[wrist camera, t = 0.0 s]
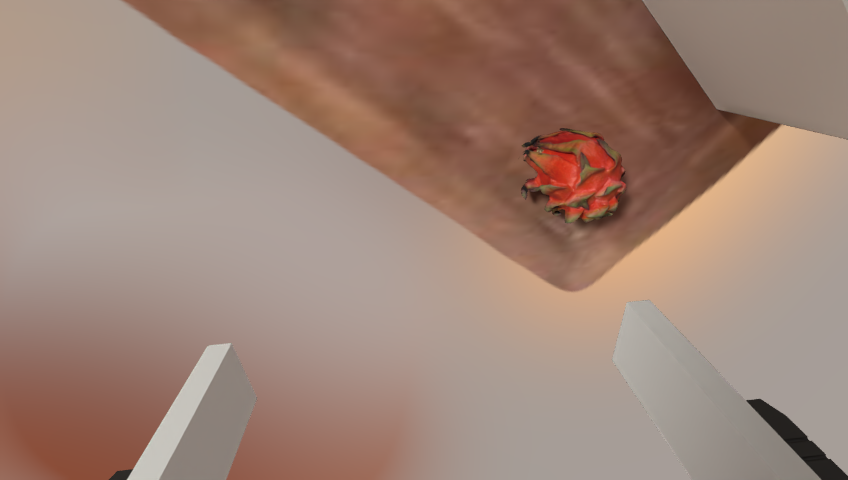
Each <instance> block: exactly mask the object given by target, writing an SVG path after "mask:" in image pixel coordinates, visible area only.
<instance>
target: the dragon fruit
mask: <svg viewBox="0 0 848 480" xmlns="http://www.w3.org/2000/svg"><path fill="white" fill-rule="evenodd" d="M560 130H562V131H560V132H555V133H552V134H548V135H540V136H537V137H536V138H534V139H533V140H531V142H527V143H525V144H523V145H522V147H527V148H526V150H525V151H524V152H525V153H524V154H525V156H524V161H526V162H527V163H528V164H529V165H530V166H531V167H533V168H534V169H535V170H536V171H537V173H538V175H537V177H536V178H532V179H527V180H526V181H527V182H526V183H525V184H524V185H523V187H522V189H521V194H522V196H523V197H524V198H525V199H526V197H527V192H528V190H530V191H531V192H536V191H539V190H540V191H541V192H542V193H543V194H545V195H549V198H550V199H549V201H548V202H547V204H546V206H545V211H546V212H550V211H552V214H553V215H556V216H558V215H561V214H562V213H560V212H559V211H558V210H561V209H565V223H572V222H575V221H577V220H578V219H579V218H580V217H581V218H582V220H583V221H584V222H586V223H587V222H590V221H592V220H594V219H600V218H603V217H605V216H610V215H613V213H611V212H609V211H614V212H615V211H616V209H617V207H618V204H619V203H618V202H619V200H620V198H619V197H620V196H621V195H622V194H623V193H624V192H625V191H626V184H625V183H624V182H622V181H621V178H622V177H623V176H624V174H625V169H624V168H623V167H622V166H621V162H622V157H621V155H620V154H619V153H618V152H616V151H614V150H612V149H611V148H610V147H609V146H608V144H607V143H606V142H605V141H604V138H603V136H602V135H601V134H599V133H594V132H593V133H590V132H583V131H578V130H577V131H576V130H572V129H566V128H561V129H560ZM533 144H534V145H533ZM524 154H523V155H524Z"/></svg>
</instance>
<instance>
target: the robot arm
mask: <svg viewBox="0 0 848 480" xmlns="http://www.w3.org/2000/svg"><path fill="white" fill-rule="evenodd" d="M612 361H613V362H614V364H615V365H616V367H617V368H618V370H619V371H620V373H621V374H622V376H623V377H624V379H625V380H626V382H627V383H628V385H629V386H630V388H631V390H632V391H633V393H634V394H635V396H636V397H637V398H638V400H639V401H640V403H641V404H642V406H643V408H644V409H645V411H646V412H647V414H648V415H649V416H650V418H651V420H652V421H653V423H654V424H655V426H656V427H657V429H658V430H659V432H660V433H661V435H662V436H663V438H664V439H665V441H666V442H667V444H668V445H669V447H670V448H671V450H672V451H673V453H674V454H675V456H676V457H677V459H678V460H679V462H680V463H681V465H682V466H683V468H684V469H685V471H686V472H687V474H688V475H689V477H690V478H691V480H848V476H847V475H846V474H845V473H844V472H843V471H842V470H841V469H840V468H839V467H838V466H837V465H836V464H835V463H834V462H833V461H832V460H831V459H828V458H827V457H826V456H825V455H826V454H825V453H824V452H823V451H822V450H821V449H820V448H818V447H817V445H816V444H814V443H813V442H812V441H809V440H808V438H807V436H806V435H805V434H804V433H803V432H802V431H801V430H800V429H799V428H798V427H797V426H796V425H795V424H794V423H793V422H792V421H791V420H790V419H789V418H788V417H787V416H785V415H784V414H783V413H781V412H779V411H778V410H776V409H775V408H773V407H772V406H770V405H769V404H767V403H766V402H764V401H763V400H761V399H755V400H745V399H744V398H743V397H742V396H741V395H740V394H739V393H738V392H737V391H736V390H735V389H734V388H733V387H732V386H731V385H730V384H729V383H728V381H726V379H725V378H724V377H723V376H722V375H721V374H720V373H719V372H718V371H717V370H716V369H715V368H714V367H713V366H712V365H711V364H710V363H709V362H708V361H707V360H706V359H705V357H703V355H702V354H701V353H700V352H699V351H698V350H697V349H696V348H695V347H694V346H693V345H692V344H691V343H690V342H689V341H688V340H687V339H686V338H685V337H684V335H683V334H682V333H681V332H680V331H679V330H678V329H677V328H676V327H675V326H674V325H673V324H672V323H671V322H670V321H669V320H668V319H667V318H666V317H665V316H664V315H663V314H662V312H661V311H659V309H658V308H657V307H656V306H655V305H654V304H653V303H652V302H651V301H650V300H643V301H634V302H627V304H626V308H625V312H624V316H623V319H622V323H621V327H620V331H619V335H618V339H617V342H616V346H615V350H614V354H613V358H612ZM256 400H257V397H256V395H255V393H254V390H253V388H252V386H251V384H250V382H249V380H248V378H247V375H246V373H245V371H244V369H243V367H242V365H241V363H240V360H239V358H238V356H237V354H236V352H235V350H234V348H233V345H232V343H229V344H220V345H210V346H208V347H207V348H206V350H205V351H204V353H203V355H202V356H201V358H200V360H199V362H198V363H197V365H196V366H195V368H194V370H193V371H192V373H191V375H190V376H189V378H188V380H187V381H186V383H185V385H184V386H183V388H182V390H181V391H180V393H179V395H178V396H177V398H176V399H175V401H174V403H173V404H172V406H171V408H170V410H169V411H168V413H167V414H166V416H165V418H164V419H163V421H162V423H161V424H160V426H159V428H158V429H157V431H156V433H155V434H154V436H153V437H152V439H151V441H150V442H149V444H148V446H147V448H146V449H145V451H144V453H143V454H142V456H141V457H140V459H139V461H138V462H137V464H136V466H135V467H134V469H132V470H123V471H117V472H116V473H115V474H114V475H113V476H112V477H111V478H110V479H109V480H226V478H227V476H228V473H229V470H230V468H231V465H232V463H233V460H234V458H235V455H236V452H237V450H238V447H239V444H240V442H241V439H242V436H243V434H244V431H245V429H246V426H247V423H248V421H249V418H250V416H251V413H252V410H253V408H254V405H255V402H256Z"/></svg>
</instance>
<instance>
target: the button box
mask: <svg viewBox="0 0 848 480" xmlns="http://www.w3.org/2000/svg"><path fill="white" fill-rule="evenodd" d="M642 1H643V2H644V4H645V5H646V7H647V8H648V10H649V11H650V13H651V14H652V16H653V17H654V18H655V20H656V21H657V23H658V24H659V26H660V27H661V29H662V30H663V32H664V33H665V35H666V36H667V37H668V39H669V40H670V42H671V43H672V45H673V46H674V48H675V49H676V51H677V52H678V54H679V55H680V56H681V58H682V59H683V61H684V62H685V64H686V65H687V67H688V68H689V70H690V71H691V73H692V74H693V75H694V77H695V78H696V80H697V81H698V83H699V84H700V86H701V87H702V89H703V90H704V92H705V93H706V94H707V96H708V97H709V99H710V100H711V102H712V103H713V105H714V106H715V108H716V109H718V110H722V111H727V112H731V113H735V114H740V115H744V116H748V117H753V118H757V119H761V120H766V121H770V122H774V123H779V124H783V125H787V126H792V127H796V128H800V129H805V130H809V131H813V132H818V133H822V134H826V135H830V136H835V137H839V138H843V139H848V0H642Z"/></svg>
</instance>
